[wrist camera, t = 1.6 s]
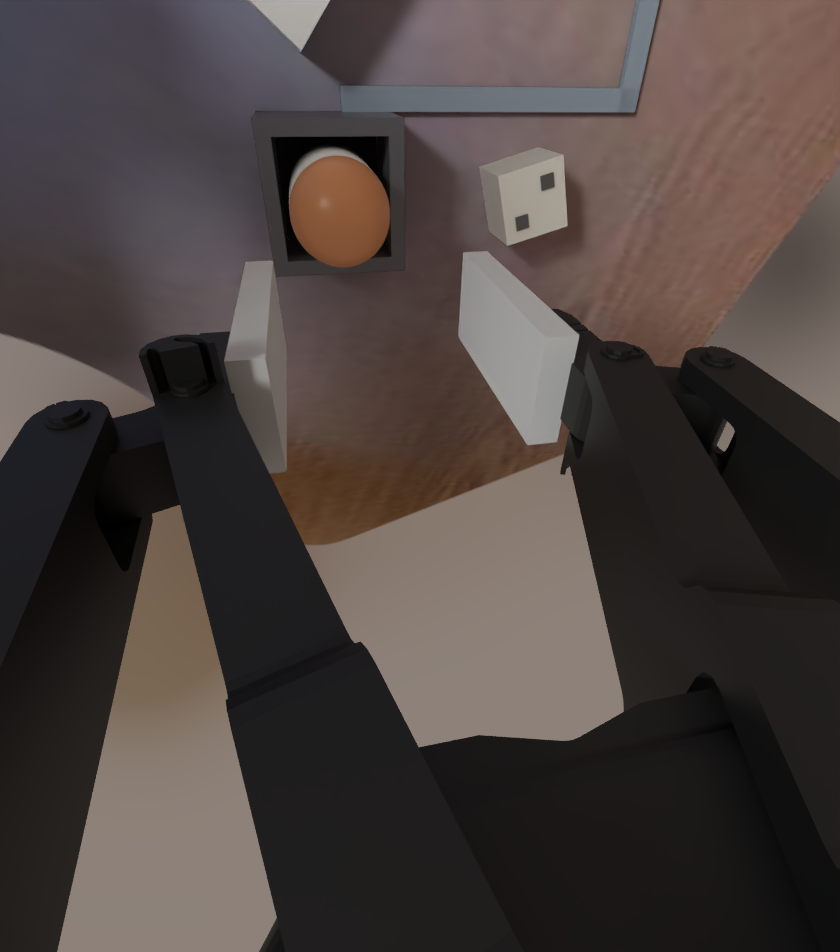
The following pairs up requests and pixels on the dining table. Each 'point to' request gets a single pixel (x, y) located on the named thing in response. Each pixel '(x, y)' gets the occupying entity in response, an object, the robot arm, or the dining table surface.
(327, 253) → the orange and white capsule
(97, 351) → the dining table surface
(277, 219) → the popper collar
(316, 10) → the bracket
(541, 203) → the die
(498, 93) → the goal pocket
